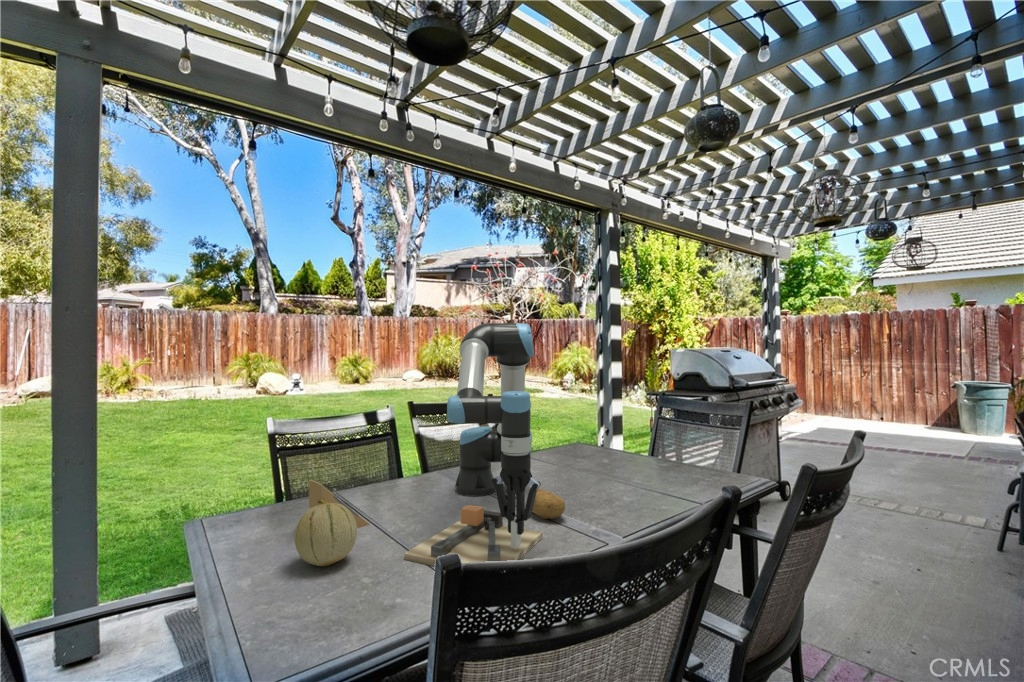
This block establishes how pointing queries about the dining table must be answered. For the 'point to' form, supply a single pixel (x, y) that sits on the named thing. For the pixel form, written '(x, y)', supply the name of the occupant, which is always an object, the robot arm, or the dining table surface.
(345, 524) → the cantaloupe
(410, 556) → the tongs board
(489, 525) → the upper tong arm
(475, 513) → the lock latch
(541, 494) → the potato
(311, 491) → the sandwich container
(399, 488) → the dining table surface
